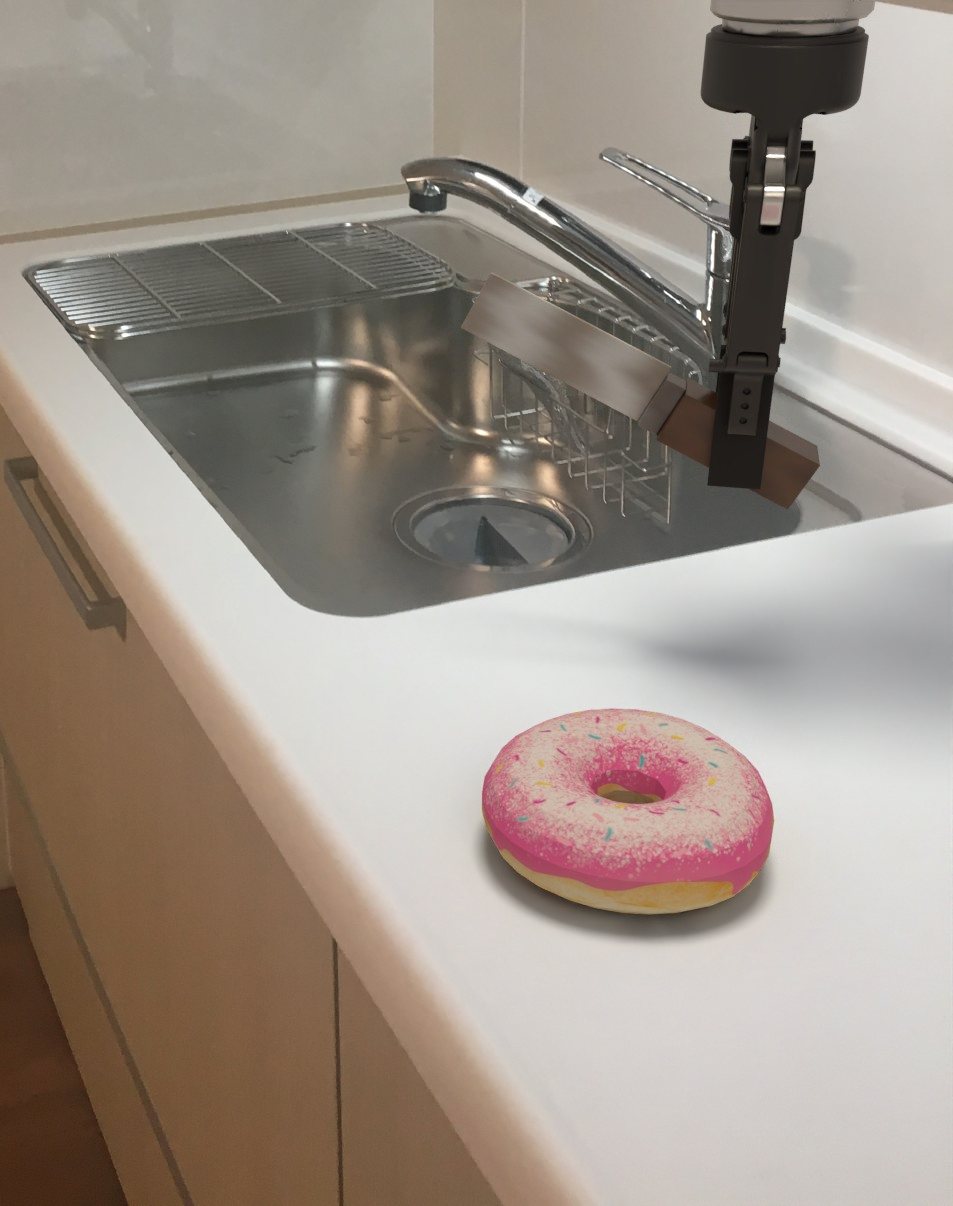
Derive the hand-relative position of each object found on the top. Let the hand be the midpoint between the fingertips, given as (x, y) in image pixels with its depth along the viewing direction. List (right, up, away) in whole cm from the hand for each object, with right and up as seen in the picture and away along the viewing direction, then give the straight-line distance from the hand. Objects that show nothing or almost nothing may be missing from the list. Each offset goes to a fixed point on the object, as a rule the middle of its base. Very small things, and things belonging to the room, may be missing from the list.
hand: (733, 471), depth 90 cm
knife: (-6, +3, 0) cm, 7 cm away
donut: (-9, -19, -11) cm, 24 cm away
